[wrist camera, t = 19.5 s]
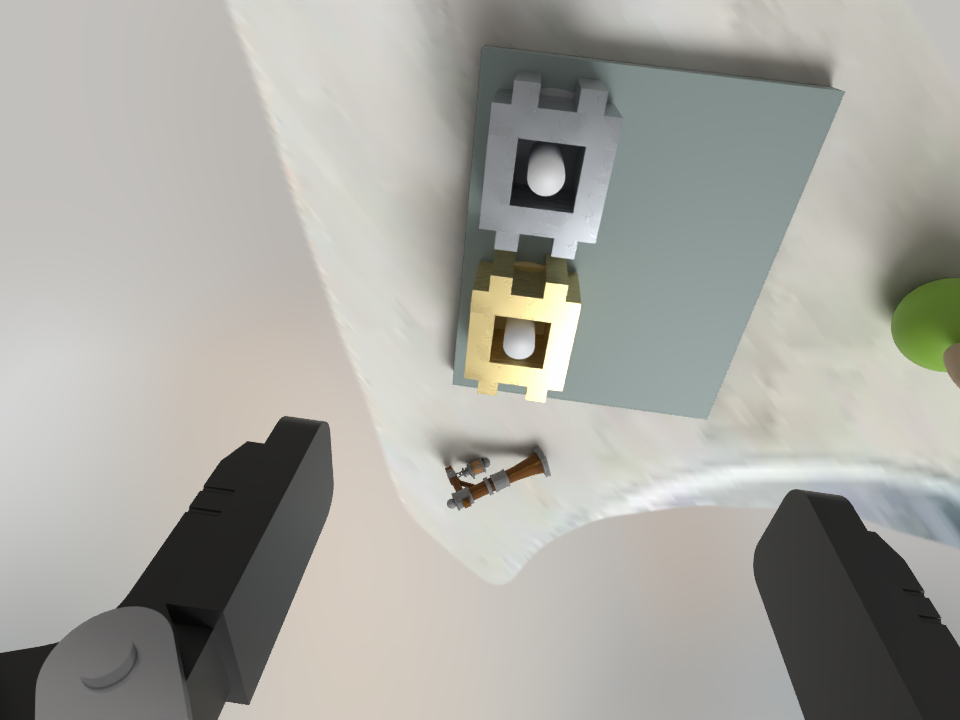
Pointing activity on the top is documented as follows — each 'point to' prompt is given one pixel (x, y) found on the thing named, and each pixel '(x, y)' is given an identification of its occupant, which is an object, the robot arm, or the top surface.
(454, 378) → the gear board
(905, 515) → the top surface
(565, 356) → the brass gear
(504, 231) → the grey hollow block
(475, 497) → the brown grey angled piece
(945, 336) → the snail figurine
